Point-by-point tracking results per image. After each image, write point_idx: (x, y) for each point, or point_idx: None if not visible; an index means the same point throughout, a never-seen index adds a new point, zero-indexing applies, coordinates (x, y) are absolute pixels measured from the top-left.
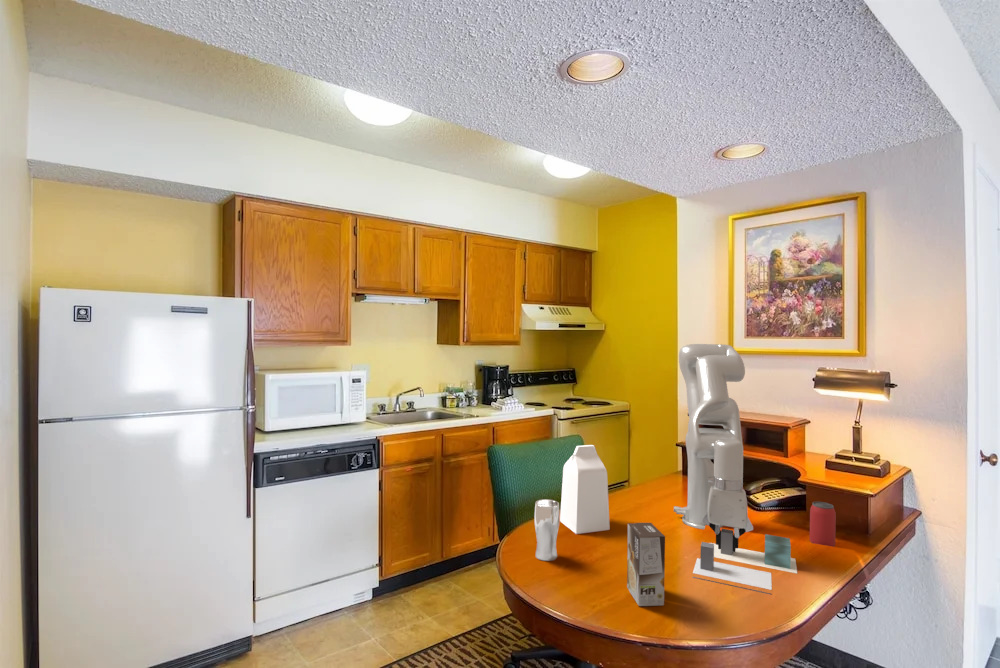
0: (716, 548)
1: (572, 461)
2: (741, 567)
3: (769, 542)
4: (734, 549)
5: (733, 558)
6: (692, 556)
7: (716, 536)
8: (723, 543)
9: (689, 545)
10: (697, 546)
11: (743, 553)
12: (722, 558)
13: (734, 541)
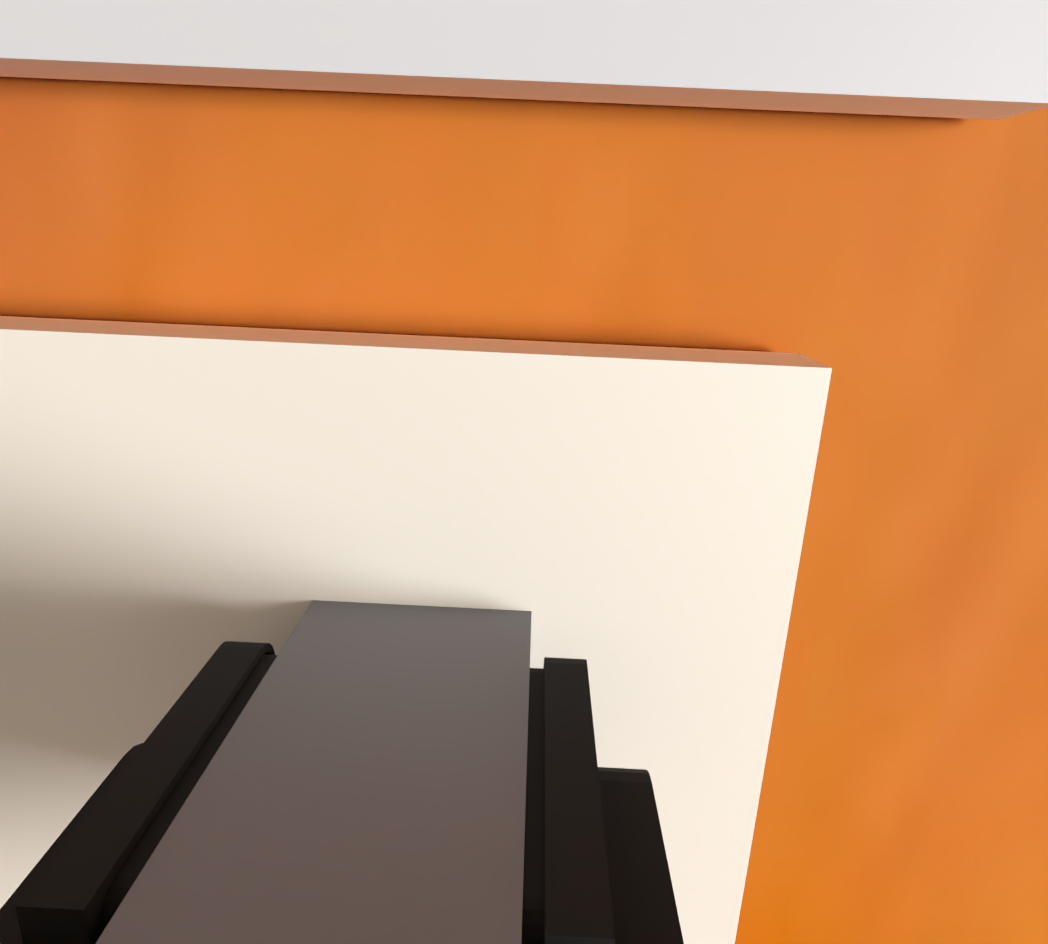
0: None
1: None
2: (55, 30)
3: None
4: (219, 667)
5: (278, 470)
6: (1031, 449)
7: (664, 933)
8: (459, 751)
9: (1022, 870)
10: (893, 881)
11: None
12: (488, 365)
13: (114, 812)
